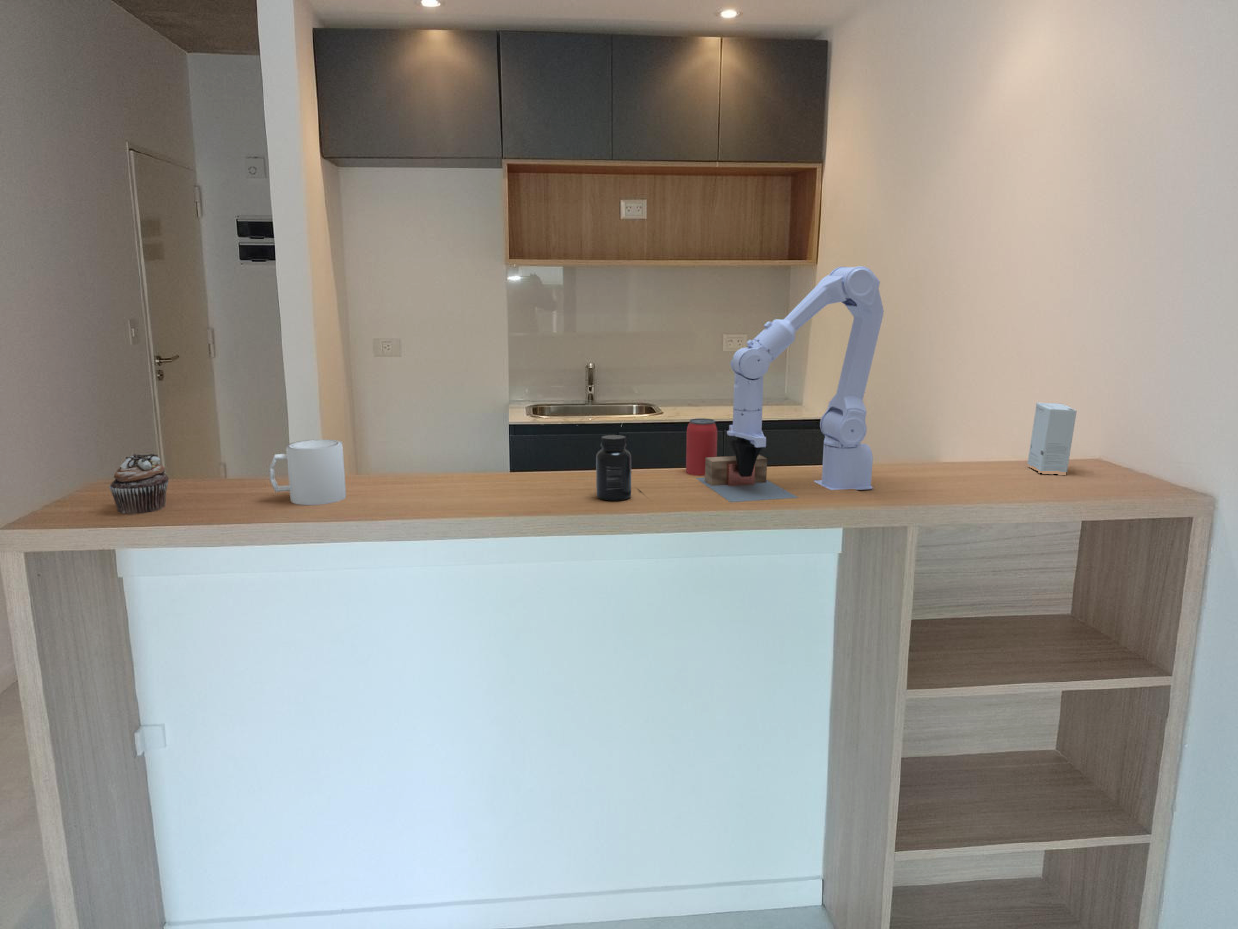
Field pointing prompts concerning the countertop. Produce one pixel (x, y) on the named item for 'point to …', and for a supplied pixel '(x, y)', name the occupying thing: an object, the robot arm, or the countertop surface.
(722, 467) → the block
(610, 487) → the supplement bottle
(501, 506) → the countertop surface
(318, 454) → the mug
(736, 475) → the pin
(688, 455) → the beer can
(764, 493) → the mat
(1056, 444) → the skincare box
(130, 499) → the cupcake
